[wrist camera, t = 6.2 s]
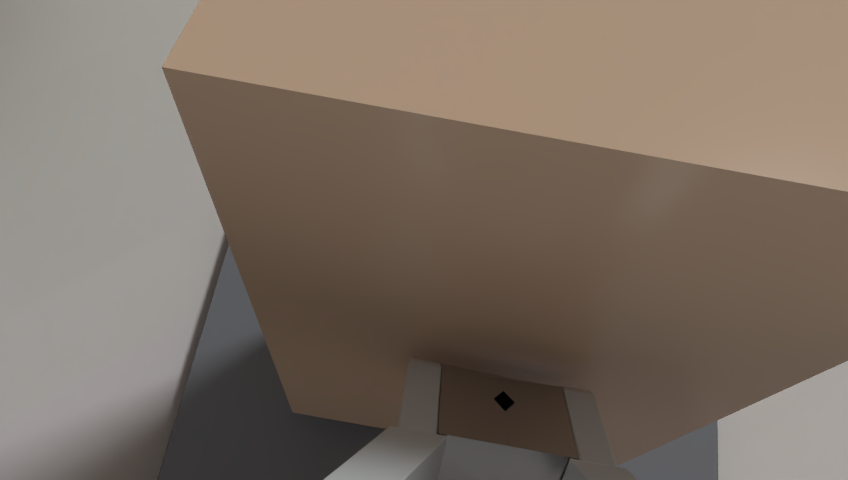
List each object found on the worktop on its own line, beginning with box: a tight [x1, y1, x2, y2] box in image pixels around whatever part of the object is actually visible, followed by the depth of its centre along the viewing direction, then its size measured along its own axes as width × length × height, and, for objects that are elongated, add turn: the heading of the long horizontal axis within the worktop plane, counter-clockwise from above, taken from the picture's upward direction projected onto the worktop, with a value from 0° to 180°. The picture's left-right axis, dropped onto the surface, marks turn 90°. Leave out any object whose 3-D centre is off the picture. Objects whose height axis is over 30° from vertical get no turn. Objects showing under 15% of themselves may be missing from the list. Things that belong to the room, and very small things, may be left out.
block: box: [162, 0, 848, 466], centre depth 10 cm, size 3×8×11 cm, turn 80°
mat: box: [157, 245, 718, 480], centre depth 17 cm, size 20×14×1 cm
